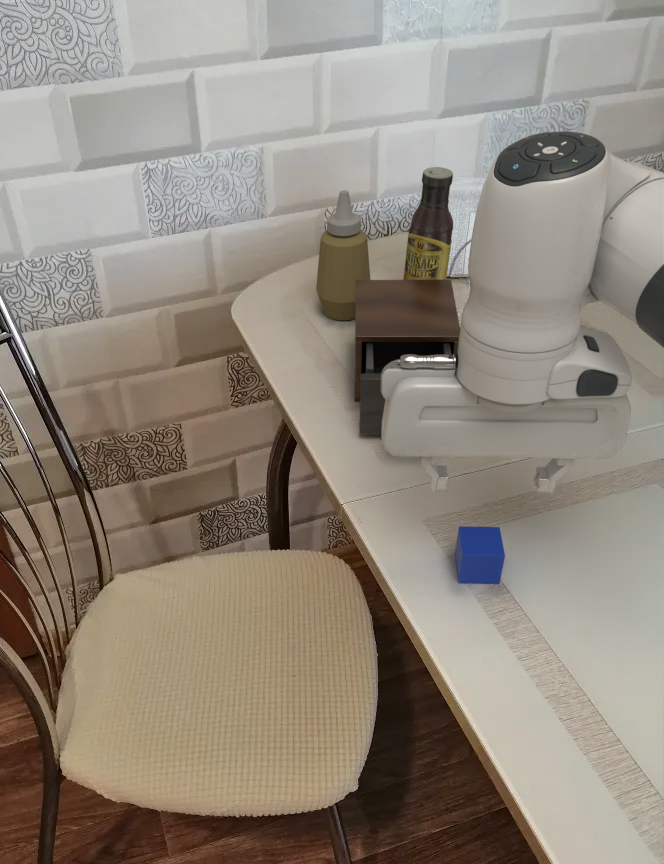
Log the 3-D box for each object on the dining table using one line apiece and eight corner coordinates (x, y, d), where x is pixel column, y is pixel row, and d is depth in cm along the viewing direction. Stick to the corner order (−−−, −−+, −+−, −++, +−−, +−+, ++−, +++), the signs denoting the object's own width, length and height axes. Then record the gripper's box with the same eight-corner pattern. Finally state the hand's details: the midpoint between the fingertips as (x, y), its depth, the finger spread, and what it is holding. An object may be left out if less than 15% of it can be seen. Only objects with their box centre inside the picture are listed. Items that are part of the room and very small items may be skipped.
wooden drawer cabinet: (453, 402, 101) (461, 336, 95) (354, 402, 102) (355, 336, 95) (444, 342, 112) (451, 279, 105) (354, 342, 113) (355, 279, 106)
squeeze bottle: (305, 311, 120) (301, 192, 108) (344, 293, 123) (345, 176, 111) (341, 331, 115) (342, 209, 103) (381, 312, 119) (386, 191, 107)
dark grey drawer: (459, 458, 91) (466, 403, 86) (359, 458, 92) (360, 402, 87) (446, 371, 105) (451, 319, 99) (359, 371, 105) (360, 319, 100)
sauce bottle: (394, 308, 119) (401, 174, 106) (413, 291, 123) (422, 159, 110) (433, 319, 117) (446, 183, 103) (452, 301, 120) (466, 167, 107)
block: (494, 554, 81) (499, 526, 78) (499, 584, 78) (505, 556, 75) (454, 554, 81) (458, 525, 79) (458, 583, 78) (462, 555, 76)
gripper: (382, 376, 61) (375, 508, 71) (654, 379, 60) (611, 512, 69) (381, 334, 66) (374, 463, 75) (633, 336, 65) (595, 466, 74)
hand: (489, 487), depth 72 cm, fingers open, 8 cm apart
